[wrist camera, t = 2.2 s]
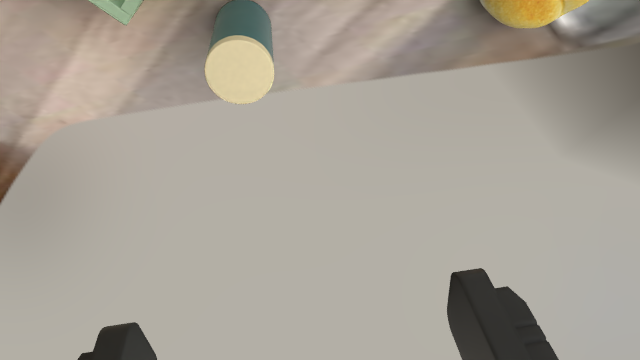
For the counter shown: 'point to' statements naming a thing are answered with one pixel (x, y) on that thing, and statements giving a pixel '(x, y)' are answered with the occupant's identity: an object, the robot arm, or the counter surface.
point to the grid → (119, 8)
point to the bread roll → (529, 11)
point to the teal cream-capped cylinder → (240, 53)
